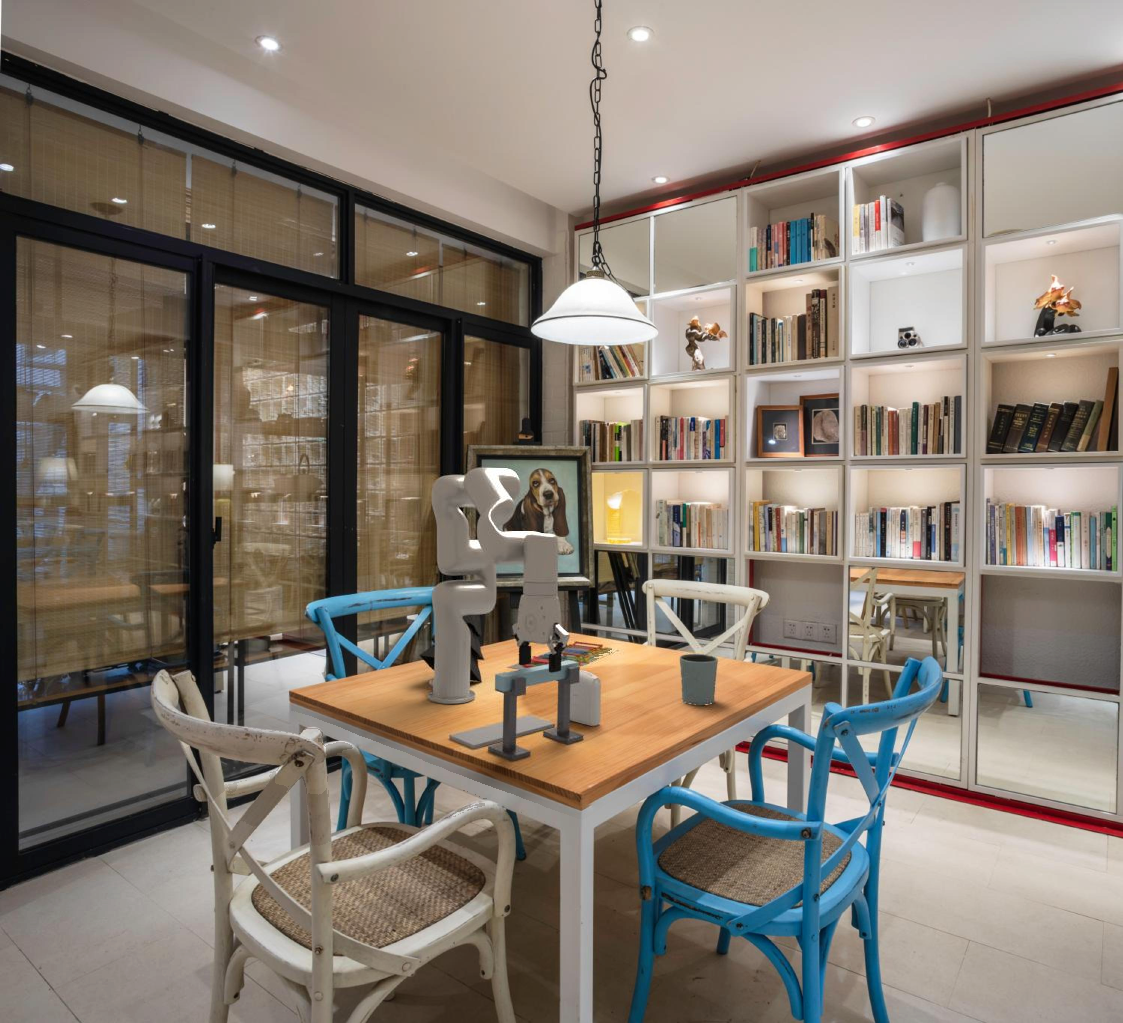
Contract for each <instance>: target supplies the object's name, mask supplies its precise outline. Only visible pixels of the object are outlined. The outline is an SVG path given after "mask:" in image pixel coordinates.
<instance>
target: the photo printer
mask: <svg viewBox="0 0 1123 1023" xmlns="http://www.w3.org/2000/svg"><path fill="white" fill-rule="evenodd" d="M601 688H602V683H601V680H600V678H599V677H598V676H597V675H596V674H593V673H592V672H590V671H586V670H583V669H580V675H579V683H574V684H570V721H571V722H576V723H579V724H583V725H585V726H586V725H587V726H591V727H597V726H598V725H599V724H600V722H601V714H602V713H601V709H602V708H601V702H602V701H601V698H602V697H601V695H602V690H601Z"/></svg>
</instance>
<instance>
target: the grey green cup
mask: <svg viewBox="0 0 1123 1023" xmlns="http://www.w3.org/2000/svg"><path fill="white" fill-rule="evenodd" d="M718 662H719V659H718V658H717V657H716V656H714V655H709V654H704V653H687V654H683V655H680V656H679V667H680V678H681V680H680V681H681V699H682V702H683V701H684V702H686V703H685V704H687V703H691V704H696V705H705V704H710V703H713V702H714V703H715V695H716V694H715V693H716V682H717V670H718ZM684 702H683V703H684ZM714 703H713V704H714ZM696 705H695V706H696Z"/></svg>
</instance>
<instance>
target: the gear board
mask: <svg viewBox="0 0 1123 1023" xmlns="http://www.w3.org/2000/svg"><path fill="white" fill-rule="evenodd" d="M603 646H604V645H603V644H601V643H600V644H597V643H590V642H582V641H574V643H569V644H567V646H566V648H565V649H564V652H563V653H561V662H562V661H568V660H571V661H575V662H579V667H580V668H581V666H582V667H583V666H586V665H588V664H591V663H593V662H595V661H598V660H600V659H599V658H594V657H599V656H603V655H599V654H604V653H610V652H608V651H610V650H612V649H613V648H612V647H606V646H605V647H603ZM611 653H612V652H611ZM549 654H551V652H550V651H548V652H545V653H542V654H539V655H537V656H536V655H531V663H530V664H527V665H519V662H518V663H516V664H513V665H510V666H506V668H507V669H512V670H513V669H515V670H521V669H526V668H531V667H537V666H542V665H547V664H549ZM612 654H613V653H612ZM597 659H598V660H597ZM590 662H591V663H590Z"/></svg>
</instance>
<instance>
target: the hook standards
mask: <svg viewBox="0 0 1123 1023" xmlns="http://www.w3.org/2000/svg"><path fill="white" fill-rule="evenodd" d="M580 668H581V667H578V666H575V667H570V668H567V678H564V679H560V680H555V682H557V711H556V712H557V715H556V716H557V719H556V722H557V723H556V727H552V728H548V729H545V730H542V731H543V732H542V736H543V737H546V738H549V739H552V740H554V741H557V742H560V743H561V744H562V743H563V744H566V745H570V744H574V743H576V742H577V743H578V742H580V741H584V734H582V733H578V732H576V731H573V730H570V728H571V727H570V726H571V724H570V721H571V720H570V684H574V683H579V675H580V670H581V669H580ZM505 672H506V671H505ZM505 672H503V673H505ZM500 673H501V672H499V673H498V674H500ZM494 691H495V692H499V693H501V694H503V709H502V710H503V711H502V712H503V713H502V714H503V716H502V722H503V741H501V742H498V743H494V744H491V745H487V746H488V747H487V751H488V752H489V753H491V754H494V755H497V756H499V757H502V758H504V759H506V760H509V761H511V762H514V761H517V760H521V759H524V758H527V757H530V756H531V750H529V749H527V748H524V747H522V746H519V745H517V737H516V718H518V716H517V712H518V711H517V708H518V704H517V703H518V697H521V696H525V695H527V687H526V678H525V677H520V678H516V679H512V690H509V691H501V690H498V689H495V688H494Z"/></svg>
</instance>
